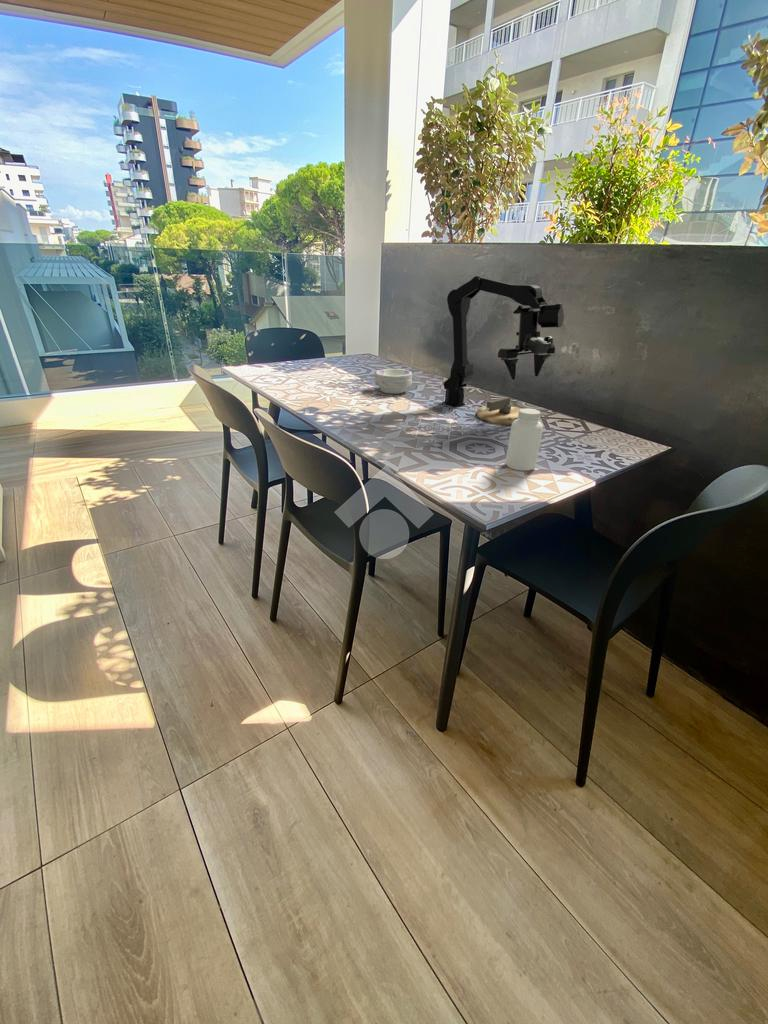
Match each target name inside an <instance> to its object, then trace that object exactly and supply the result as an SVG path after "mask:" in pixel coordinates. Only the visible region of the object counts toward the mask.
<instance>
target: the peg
mask: <svg viewBox="0 0 768 1024" xmlns="http://www.w3.org/2000/svg"><path fill="white" fill-rule="evenodd" d="M511 400H512V399H511V397H509V396H503V397H501V398H496V399H491V400H488V401H486V406H487V407H486V408H484V409H481V412H485V411H490V412H491V411H494V410H498V409H499V412H500V413H510V412H511V406H512V404H511ZM512 407H513V406H512Z"/></svg>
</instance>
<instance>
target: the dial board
mask: <svg viewBox="0 0 768 1024" xmlns="http://www.w3.org/2000/svg"><path fill="white" fill-rule="evenodd" d="M486 407H487V405H484V406H481V407H478V408H477V410H476V417H478V418H479V419H480V420H482V421H484V422H488V423H490V424H495V425H500V426H501V425H503V426H511V425H512V423H513V422H514V421H515V420H517V419H518V413H519V410H520V409H522V408H520V407H517V406H511V412H510V413H500V412H499V409H498V410H494V411H491V412H490V411H485V412H481V409H484V408H486Z"/></svg>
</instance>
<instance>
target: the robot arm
mask: <svg viewBox="0 0 768 1024" xmlns="http://www.w3.org/2000/svg"><path fill="white" fill-rule="evenodd" d="M481 291H482V292H486V293H491V294H495V295H498V296H503V297H505V298H509V299H511V300H513V301H514V302H516V303H517V304H520V305H518V306H517V308H516V309H515V310H514V311H513V312H512V313H513V314H515V315H517V314H519V324H518V325H519V326H518V331H517V332H516V334H515V335H516V336H518V342H517V344H515V348H514V347H505V348H504V347H502V348H501V347H500V349H499V350H498V352H497V358H500V359H501V361H503V362H504V364H505V366H506V369H507V370H508V373H509V376H510V378H511V380H516V369H517V363H518V361H519V358H517V357H519V356H521V355H522V356H523V355H529V354H533V364H534V365H533V370H534V377H539V375H540V372H541V369H542V367H543V365H544V364H545V361H546V360H547V359H548V358H549V357H551V356H552V354H555V353H556V347H555V344H554V337H552V336H551V335H549V336H545V337H541V331H539V330H538V326H540V327H541V329H551V328H553V329H554V328H562V326H563V323H564V319H565V314H564V309H563V303H556V304H548V302H547V301H546V299H545V297H543V290H542V288H541V286H539V285H536V284H513V283H509V282H504V281H502V280H501V281H500V280H496V279H492V278H488V277H485V276H483V275H481V276H480V275H479V276H477V275H476V276H473V277H472V279H470V280H469V281H467V282H466V283H463V284H462V285H461V286H459V287H458V288H456V289H452V290H450V291H449V293H448V294H447V297H446V302H447V306H448V307H447V308H448V311H449V313H450V315H451V317H452V335H453V339H452V340H453V341H452V342H453V361H452V362H453V363H452V365H451V369H450V375H449V377H448V379H446V380H445V381H444V382H443V384H442V385H443V388H444V390H445V397H444V401H442V402H441V404H443V405H447V406H449V407H453V408H454V407H460V406H463V405H466V403H465V402H464V400H465V387H467V385H468V383H469V382H471V380H472V379H473V378H472V377H473V375H475V374H474V363H470V362H469V360H468V338H467V337H468V335H467V333H468V332H467V315H468V313H469V310H470V307H471V300H472V299H473V298H475V297H476V296H477V295H478V294H479V292H481ZM525 306H526V307H525ZM527 306H528V307H527ZM534 309H537V310H534Z"/></svg>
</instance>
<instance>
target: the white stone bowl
mask: <svg viewBox="0 0 768 1024" xmlns="http://www.w3.org/2000/svg"><path fill="white" fill-rule="evenodd" d="M374 383H375V385H376V386H378V387H379V390H380V391H381V392H382V393H385V394H391V395H393V394H394V395H395V394H396V395H397V394H403V393H405V392H406V391H407V389H408V387H410V386H412V383H413V372H412V371H410V370H408V369H402V368H383V369H380V370H376V371H375V373H374Z"/></svg>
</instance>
